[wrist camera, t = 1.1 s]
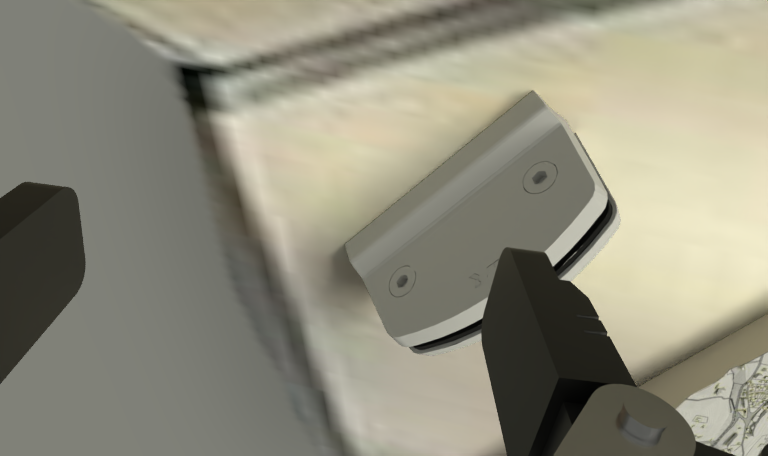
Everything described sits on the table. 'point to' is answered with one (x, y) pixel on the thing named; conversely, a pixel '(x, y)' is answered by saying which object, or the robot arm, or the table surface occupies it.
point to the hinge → (483, 227)
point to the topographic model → (723, 391)
